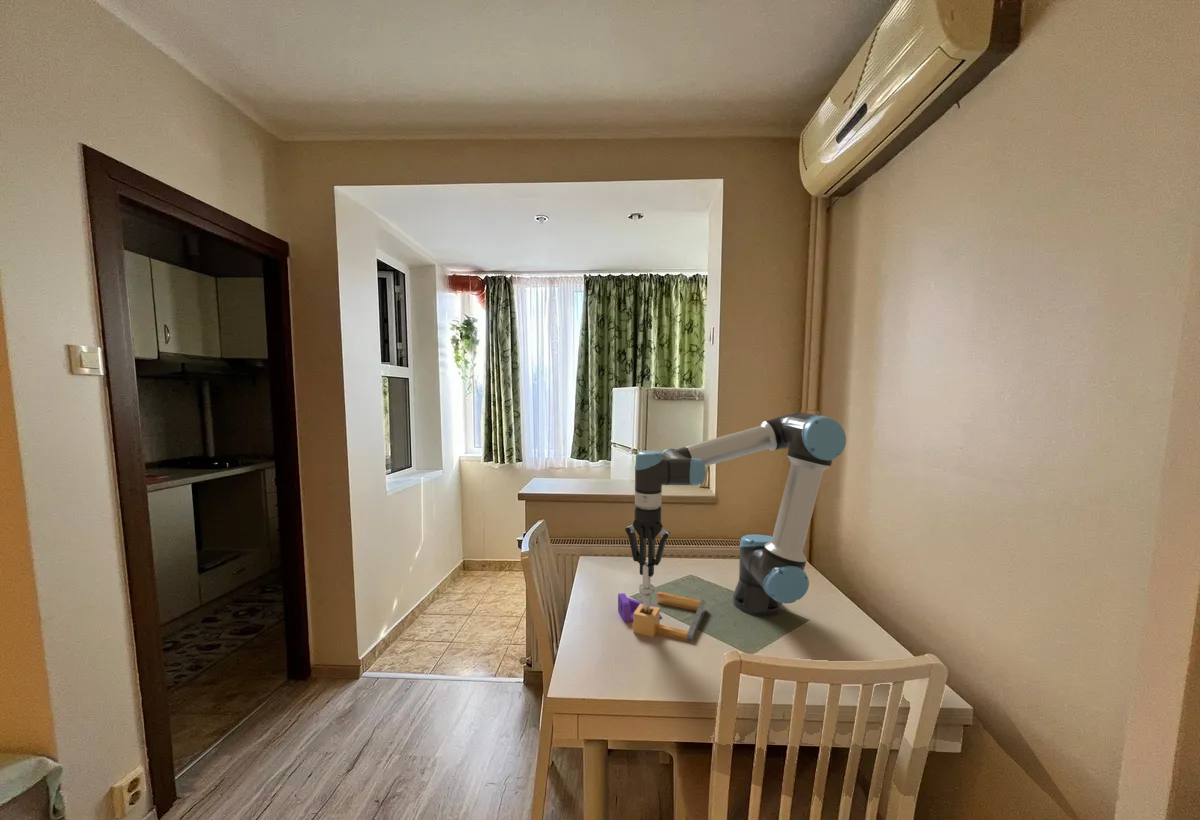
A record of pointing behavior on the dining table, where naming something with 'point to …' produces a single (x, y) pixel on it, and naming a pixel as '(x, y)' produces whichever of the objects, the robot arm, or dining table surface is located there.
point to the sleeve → (646, 621)
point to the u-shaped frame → (687, 604)
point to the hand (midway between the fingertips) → (646, 586)
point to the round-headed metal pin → (647, 597)
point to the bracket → (627, 607)
